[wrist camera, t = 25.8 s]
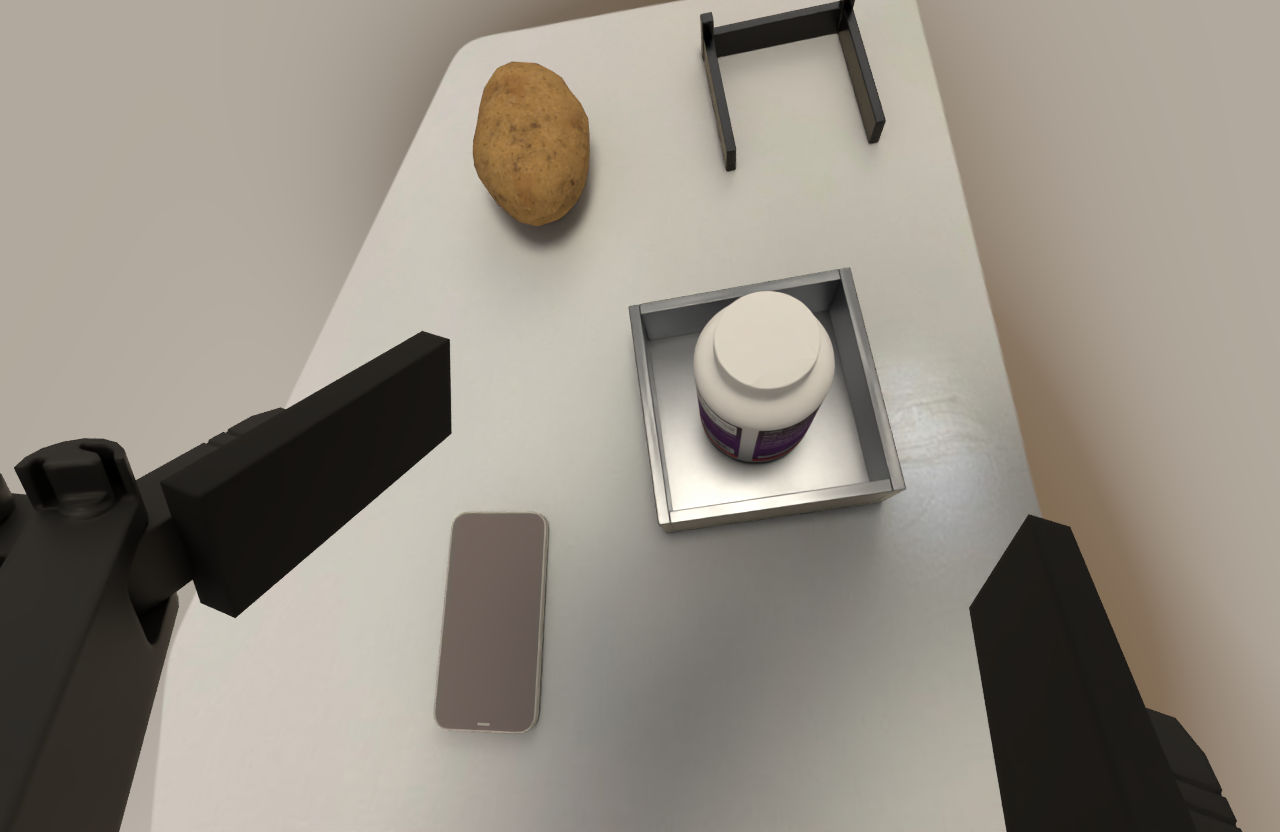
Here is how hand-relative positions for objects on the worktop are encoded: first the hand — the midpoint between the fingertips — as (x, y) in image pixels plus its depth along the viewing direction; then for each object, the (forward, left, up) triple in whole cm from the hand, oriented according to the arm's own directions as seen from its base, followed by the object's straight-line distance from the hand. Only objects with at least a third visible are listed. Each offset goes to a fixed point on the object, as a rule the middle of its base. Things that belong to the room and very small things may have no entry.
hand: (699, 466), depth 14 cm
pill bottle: (-5, -9, -31) cm, 33 cm away
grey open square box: (-5, -9, -32) cm, 34 cm away
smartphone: (+16, +3, -32) cm, 36 cm away
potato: (+9, -33, -32) cm, 47 cm away
